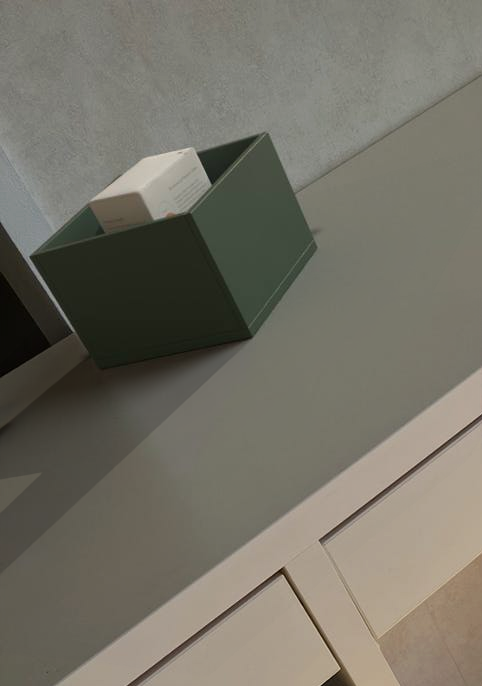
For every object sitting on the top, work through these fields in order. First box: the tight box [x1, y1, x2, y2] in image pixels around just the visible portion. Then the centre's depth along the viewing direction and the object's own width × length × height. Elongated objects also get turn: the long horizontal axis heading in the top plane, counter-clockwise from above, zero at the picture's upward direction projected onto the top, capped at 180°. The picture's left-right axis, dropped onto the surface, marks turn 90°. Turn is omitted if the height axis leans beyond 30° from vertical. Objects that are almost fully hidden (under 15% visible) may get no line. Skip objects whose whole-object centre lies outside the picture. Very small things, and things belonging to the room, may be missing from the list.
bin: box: [28, 131, 319, 370], centre depth 85 cm, size 15×15×10 cm
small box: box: [88, 147, 212, 233], centre depth 85 cm, size 8×6×10 cm
